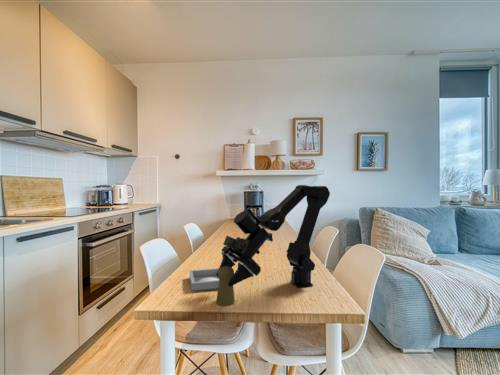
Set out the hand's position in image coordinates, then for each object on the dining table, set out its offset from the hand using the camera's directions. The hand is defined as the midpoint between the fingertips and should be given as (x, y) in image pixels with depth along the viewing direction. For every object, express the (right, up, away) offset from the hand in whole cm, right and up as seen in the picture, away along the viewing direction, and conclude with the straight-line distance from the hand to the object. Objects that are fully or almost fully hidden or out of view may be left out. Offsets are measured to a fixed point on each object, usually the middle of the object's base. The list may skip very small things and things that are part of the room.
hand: (222, 280), depth 79 cm
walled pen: (-7, -7, +16) cm, 19 cm away
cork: (+1, -7, +1) cm, 7 cm away
